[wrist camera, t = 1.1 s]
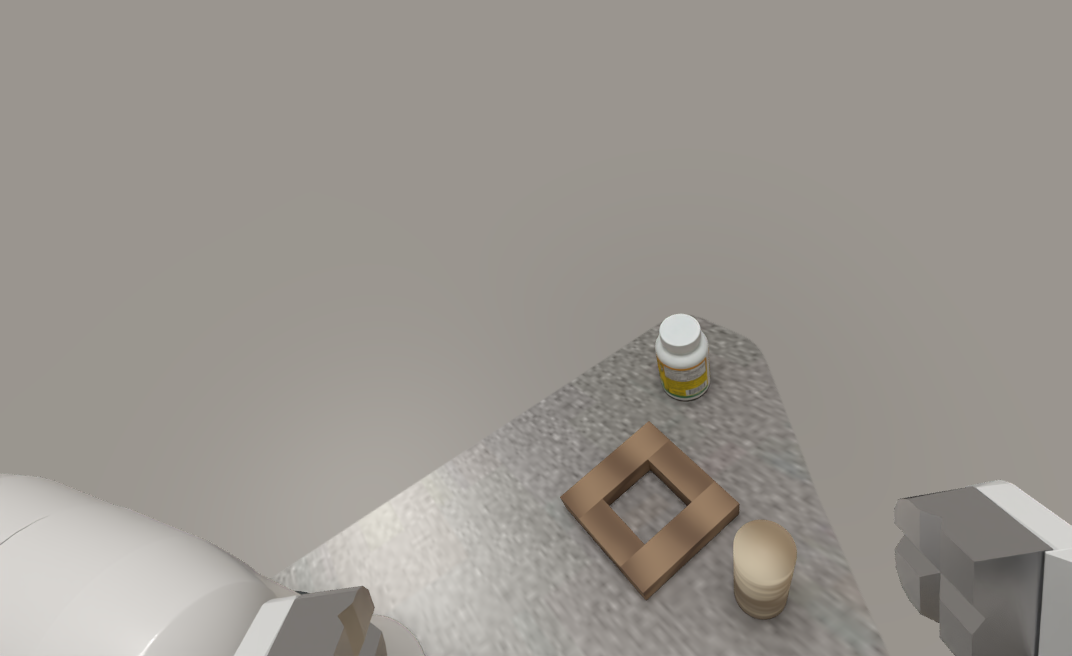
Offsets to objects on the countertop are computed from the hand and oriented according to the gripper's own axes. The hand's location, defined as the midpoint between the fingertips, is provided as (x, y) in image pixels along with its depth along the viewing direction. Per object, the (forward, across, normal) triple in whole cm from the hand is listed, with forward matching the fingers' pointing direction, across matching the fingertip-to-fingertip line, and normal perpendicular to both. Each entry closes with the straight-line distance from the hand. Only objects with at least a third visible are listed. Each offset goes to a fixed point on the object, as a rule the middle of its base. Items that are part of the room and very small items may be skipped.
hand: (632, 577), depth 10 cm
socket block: (+46, +5, -30) cm, 56 cm away
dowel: (+38, +13, -35) cm, 54 cm away
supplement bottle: (+57, +12, -22) cm, 63 cm away
